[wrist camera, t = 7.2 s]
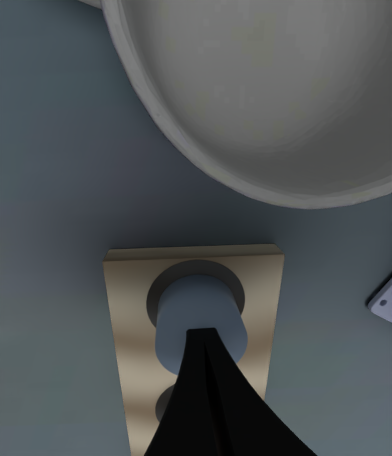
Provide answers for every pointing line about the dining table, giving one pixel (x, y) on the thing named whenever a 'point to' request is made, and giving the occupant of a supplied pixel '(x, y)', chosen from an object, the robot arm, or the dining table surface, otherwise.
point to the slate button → (197, 318)
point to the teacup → (267, 91)
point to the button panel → (148, 309)
